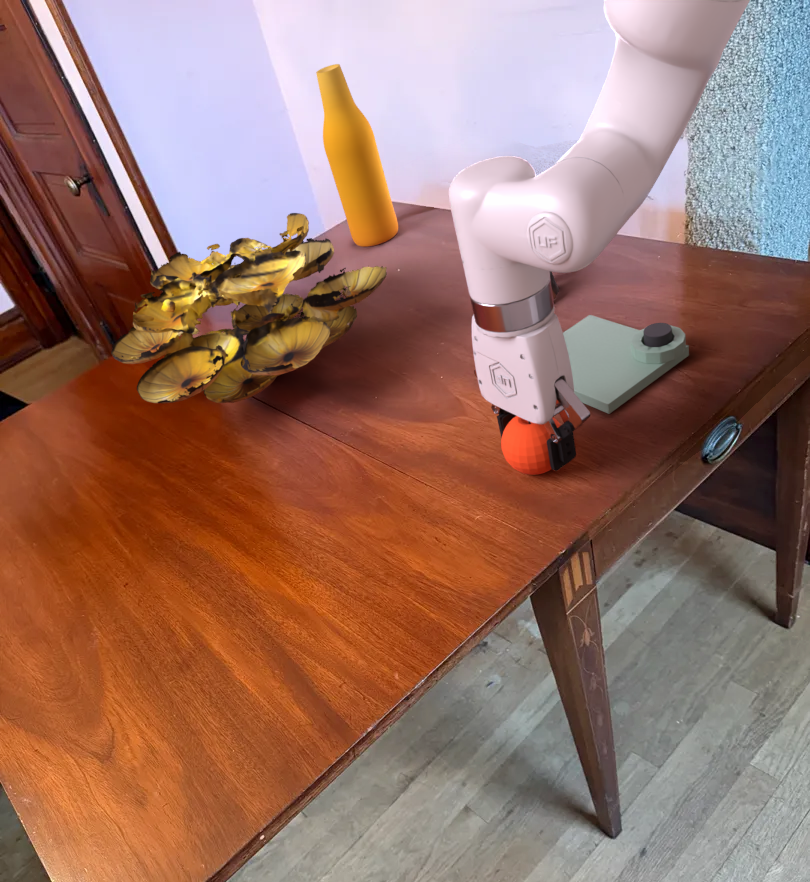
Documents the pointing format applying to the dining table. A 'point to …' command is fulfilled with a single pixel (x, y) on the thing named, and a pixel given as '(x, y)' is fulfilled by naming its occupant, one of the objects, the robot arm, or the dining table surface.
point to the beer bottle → (355, 162)
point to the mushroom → (240, 317)
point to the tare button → (657, 335)
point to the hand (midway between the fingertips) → (538, 449)
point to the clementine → (526, 446)
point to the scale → (616, 361)
